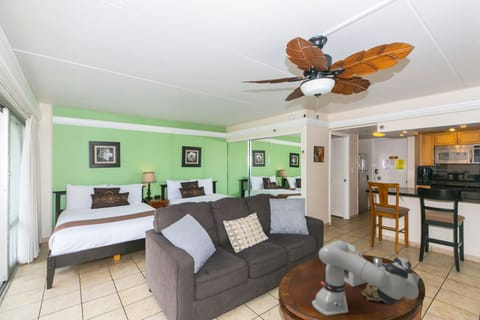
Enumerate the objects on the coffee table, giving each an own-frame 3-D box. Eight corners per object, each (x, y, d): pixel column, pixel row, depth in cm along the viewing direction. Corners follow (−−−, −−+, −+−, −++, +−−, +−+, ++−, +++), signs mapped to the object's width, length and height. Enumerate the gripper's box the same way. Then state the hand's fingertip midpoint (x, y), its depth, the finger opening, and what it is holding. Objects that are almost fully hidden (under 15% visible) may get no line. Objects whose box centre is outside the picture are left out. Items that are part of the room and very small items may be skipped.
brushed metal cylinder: (379, 276, 172) (378, 260, 172) (372, 272, 177) (371, 257, 177) (384, 274, 174) (383, 259, 174) (377, 271, 179) (376, 256, 180)
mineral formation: (368, 290, 156) (392, 298, 145) (360, 300, 148) (385, 310, 136) (366, 279, 156) (390, 287, 144) (358, 289, 148) (383, 298, 136)
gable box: (366, 283, 166) (365, 246, 166) (353, 287, 161) (352, 248, 162) (342, 270, 186) (342, 237, 187) (330, 273, 182) (330, 239, 182)
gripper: (387, 280, 159) (369, 271, 171) (404, 274, 167) (386, 266, 179) (386, 271, 159) (369, 263, 172) (404, 265, 167) (386, 258, 180)
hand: (378, 265), depth 176 cm, fingers open, 8 cm apart
